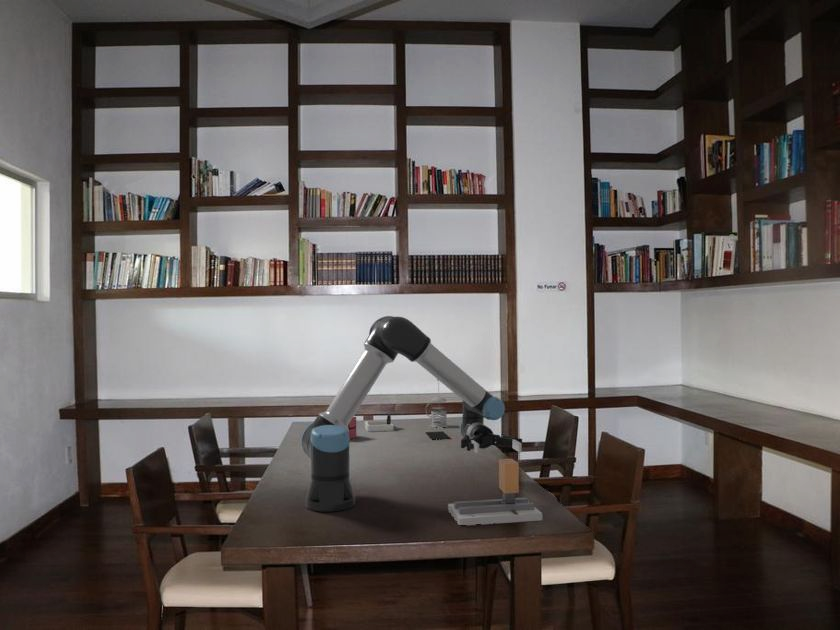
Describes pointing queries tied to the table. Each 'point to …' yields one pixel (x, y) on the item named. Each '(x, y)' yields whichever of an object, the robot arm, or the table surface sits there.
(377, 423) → the watch dish
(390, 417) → the compass
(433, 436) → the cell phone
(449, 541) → the table surface
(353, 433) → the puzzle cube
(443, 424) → the french press
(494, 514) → the fader console
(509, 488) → the fader
